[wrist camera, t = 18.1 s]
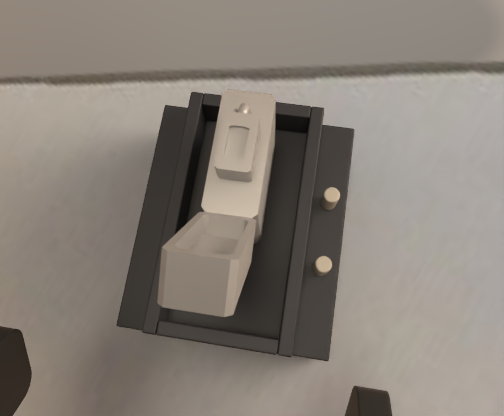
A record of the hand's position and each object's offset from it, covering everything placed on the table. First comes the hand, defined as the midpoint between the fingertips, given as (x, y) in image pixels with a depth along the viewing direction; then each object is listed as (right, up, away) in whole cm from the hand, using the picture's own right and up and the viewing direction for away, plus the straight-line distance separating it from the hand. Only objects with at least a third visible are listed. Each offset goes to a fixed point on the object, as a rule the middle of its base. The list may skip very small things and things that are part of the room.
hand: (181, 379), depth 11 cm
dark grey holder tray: (+1, +3, +10) cm, 11 cm away
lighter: (+1, +3, +7) cm, 8 cm away
